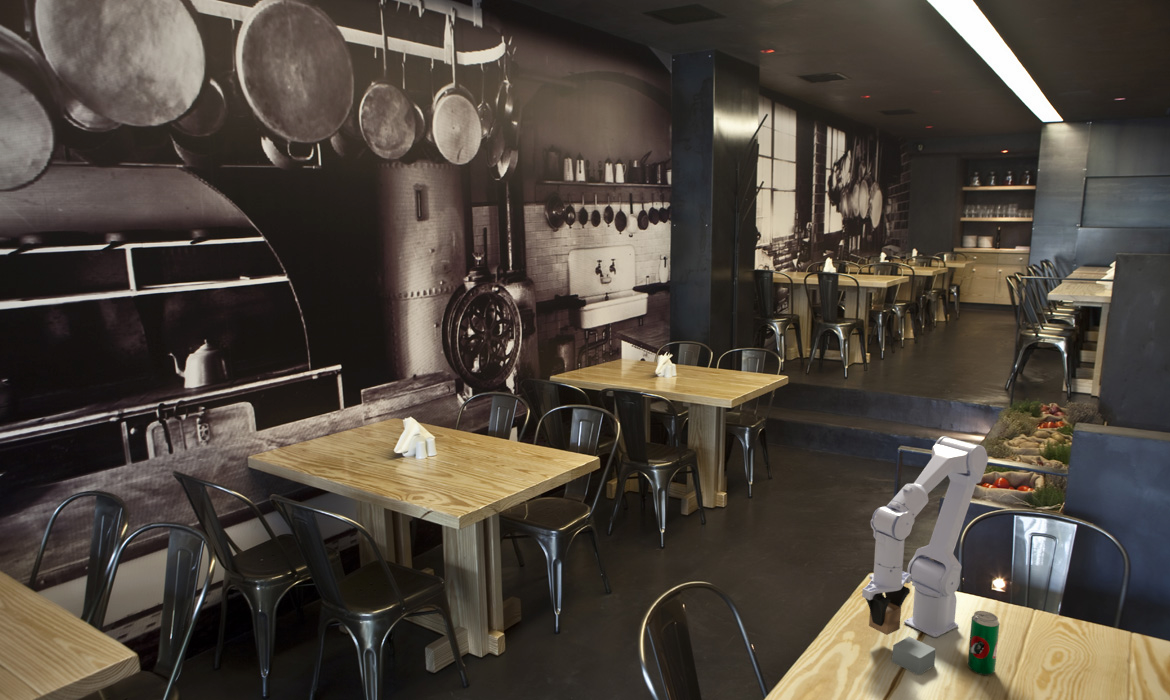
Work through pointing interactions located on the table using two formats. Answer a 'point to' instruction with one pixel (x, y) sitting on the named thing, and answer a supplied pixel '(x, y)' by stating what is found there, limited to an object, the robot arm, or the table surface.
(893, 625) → the walnut block
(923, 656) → the slate block
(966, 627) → the table surface
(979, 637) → the soda can
